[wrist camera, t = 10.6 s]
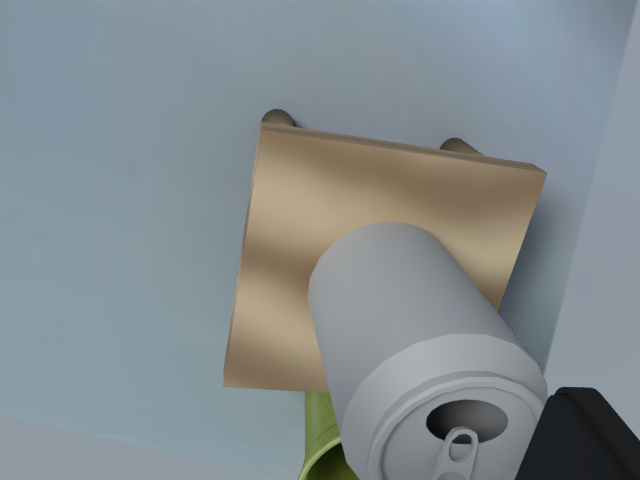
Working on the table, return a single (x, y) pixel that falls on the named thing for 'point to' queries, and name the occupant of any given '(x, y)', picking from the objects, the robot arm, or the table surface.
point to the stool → (345, 216)
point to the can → (419, 361)
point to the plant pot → (323, 442)
